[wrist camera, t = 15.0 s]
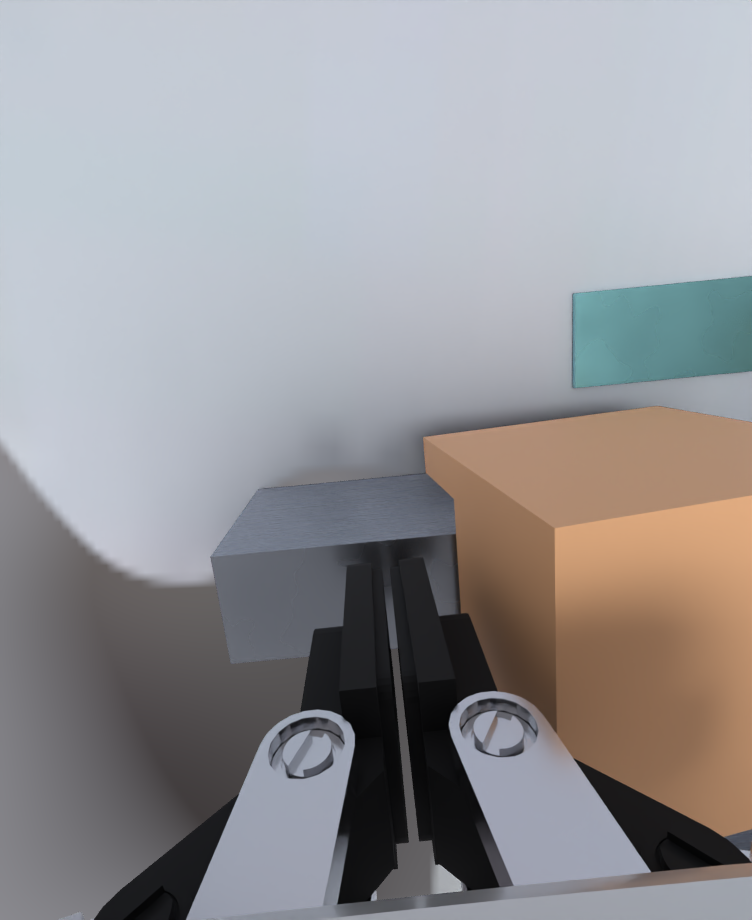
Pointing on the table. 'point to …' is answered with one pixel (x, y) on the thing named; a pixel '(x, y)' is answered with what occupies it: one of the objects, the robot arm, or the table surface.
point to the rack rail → (425, 502)
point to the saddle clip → (618, 591)
